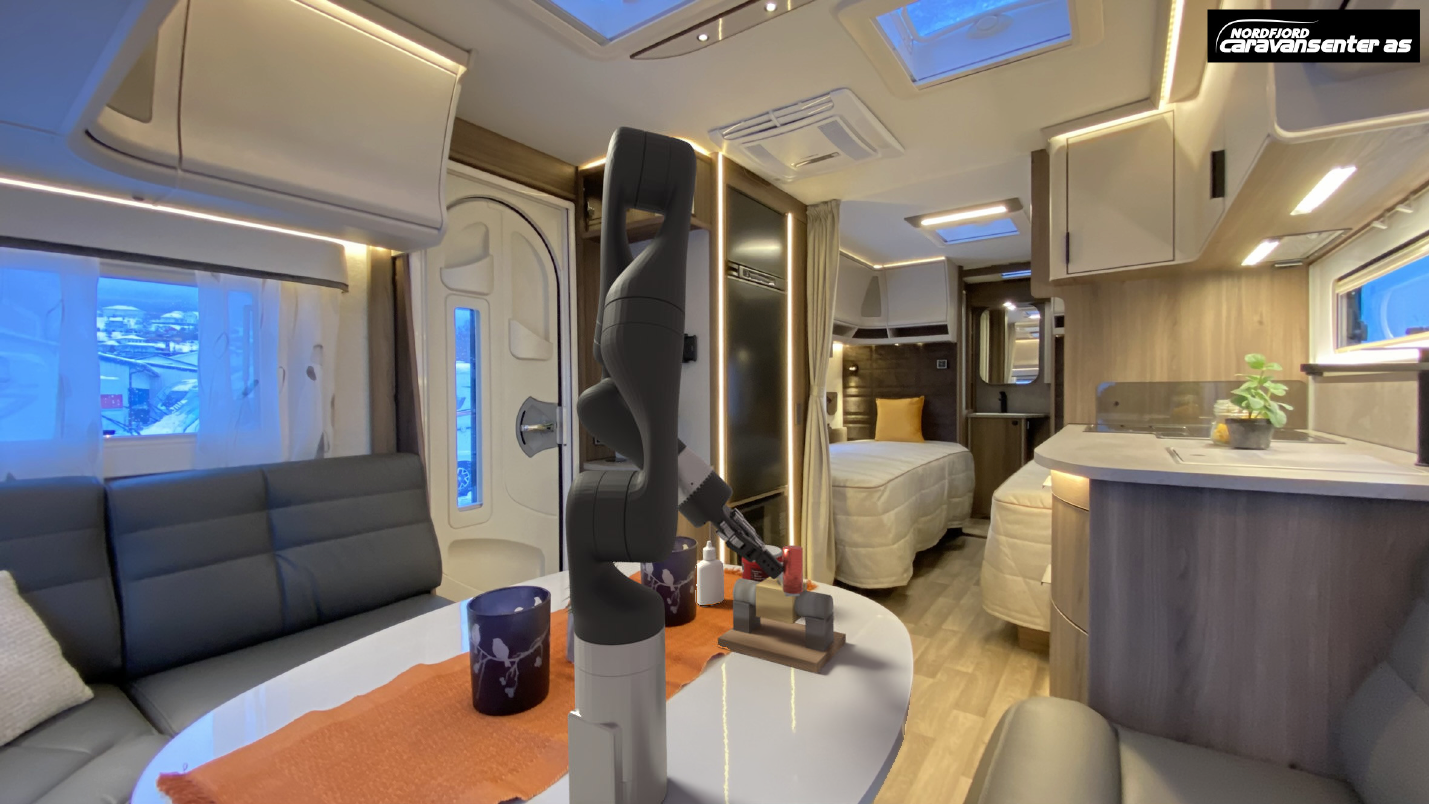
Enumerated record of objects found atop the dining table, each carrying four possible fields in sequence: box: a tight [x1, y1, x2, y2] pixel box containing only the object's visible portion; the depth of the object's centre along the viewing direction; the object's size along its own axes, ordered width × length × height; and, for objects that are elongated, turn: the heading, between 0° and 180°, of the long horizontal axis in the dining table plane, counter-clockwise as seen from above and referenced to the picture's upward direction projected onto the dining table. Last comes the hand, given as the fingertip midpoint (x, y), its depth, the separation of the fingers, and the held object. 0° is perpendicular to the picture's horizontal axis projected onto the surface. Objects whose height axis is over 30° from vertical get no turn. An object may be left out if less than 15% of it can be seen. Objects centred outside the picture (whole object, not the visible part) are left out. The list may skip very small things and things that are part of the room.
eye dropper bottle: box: [696, 540, 725, 606], centre depth 115 cm, size 4×6×12 cm
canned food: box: [741, 544, 783, 582], centre depth 112 cm, size 8×8×11 cm
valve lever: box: [776, 545, 804, 596], centre depth 89 cm, size 15×3×9 cm, turn 1°
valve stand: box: [717, 577, 847, 674], centre depth 95 cm, size 12×17×10 cm
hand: (778, 573), depth 83 cm, fingers closed
